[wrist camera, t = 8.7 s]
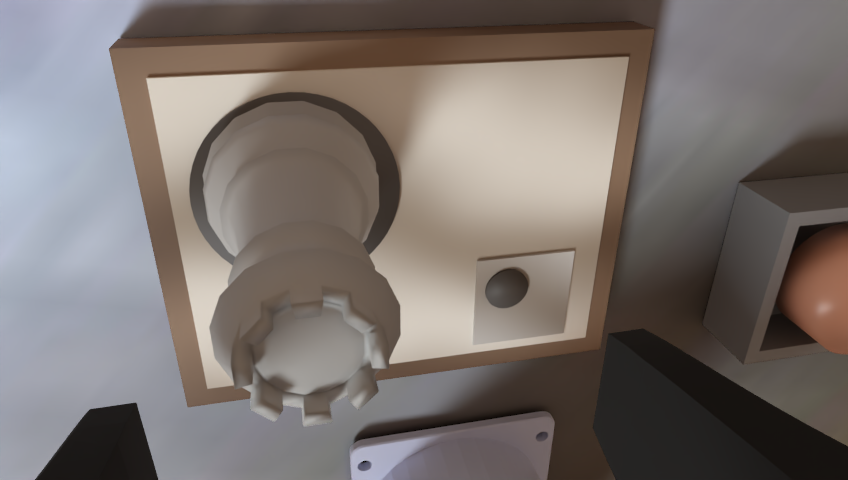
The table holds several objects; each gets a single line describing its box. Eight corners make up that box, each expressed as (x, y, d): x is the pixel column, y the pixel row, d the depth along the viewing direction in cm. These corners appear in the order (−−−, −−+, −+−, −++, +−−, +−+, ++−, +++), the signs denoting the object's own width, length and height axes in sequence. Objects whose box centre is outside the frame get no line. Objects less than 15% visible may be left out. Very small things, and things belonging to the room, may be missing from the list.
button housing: (833, 306, 26) (883, 343, 24) (702, 324, 25) (743, 364, 23) (883, 169, 23) (946, 197, 21) (739, 182, 22) (789, 213, 20)
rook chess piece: (279, 278, 18) (290, 506, 12) (165, 163, 16) (95, 361, 9) (405, 189, 18) (495, 371, 11) (306, 58, 16) (342, 186, 9)
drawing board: (585, 329, 24) (603, 354, 23) (191, 382, 21) (186, 413, 20) (633, 21, 19) (660, 31, 17) (118, 38, 16) (106, 51, 15)
